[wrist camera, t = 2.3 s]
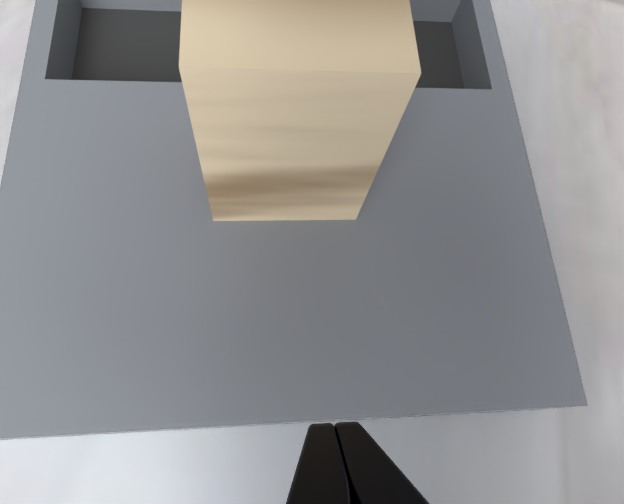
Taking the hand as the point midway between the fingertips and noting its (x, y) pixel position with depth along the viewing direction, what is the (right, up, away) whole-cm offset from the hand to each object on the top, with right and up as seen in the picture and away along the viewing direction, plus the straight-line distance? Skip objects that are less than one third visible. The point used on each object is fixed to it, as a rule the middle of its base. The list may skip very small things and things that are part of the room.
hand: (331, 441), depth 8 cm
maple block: (-2, +7, +13) cm, 15 cm away
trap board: (-2, +7, +16) cm, 17 cm away
